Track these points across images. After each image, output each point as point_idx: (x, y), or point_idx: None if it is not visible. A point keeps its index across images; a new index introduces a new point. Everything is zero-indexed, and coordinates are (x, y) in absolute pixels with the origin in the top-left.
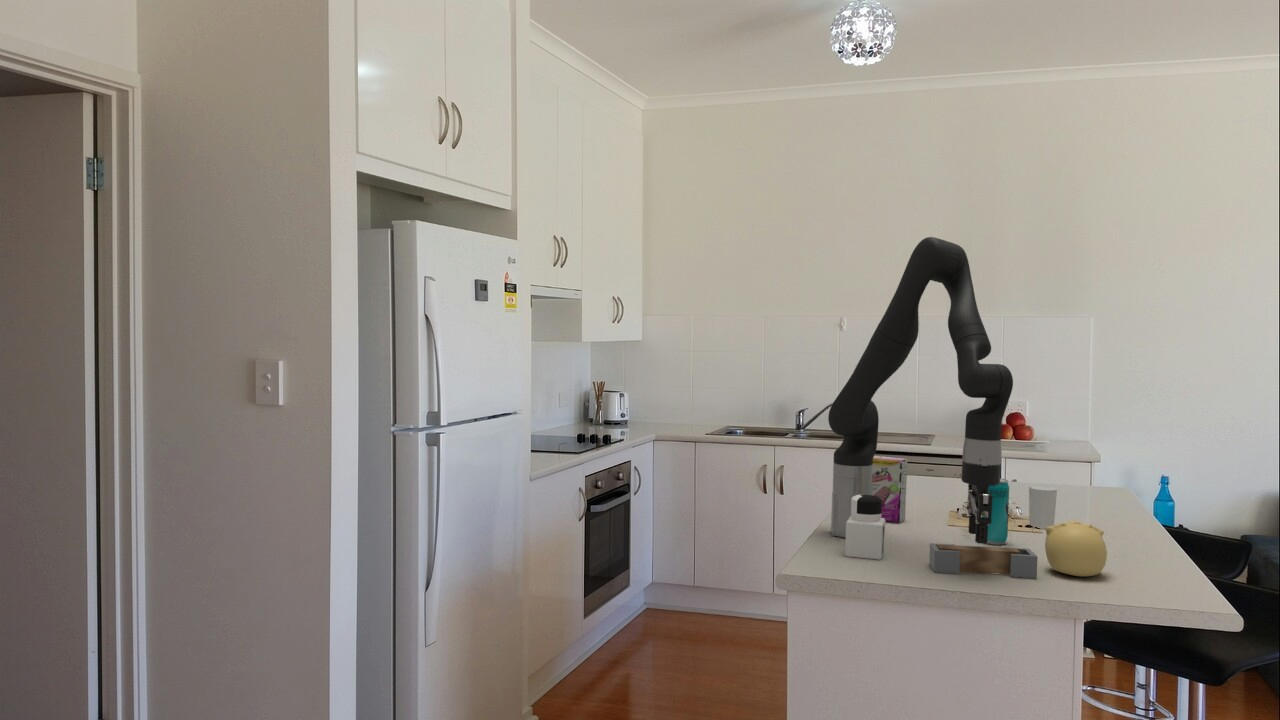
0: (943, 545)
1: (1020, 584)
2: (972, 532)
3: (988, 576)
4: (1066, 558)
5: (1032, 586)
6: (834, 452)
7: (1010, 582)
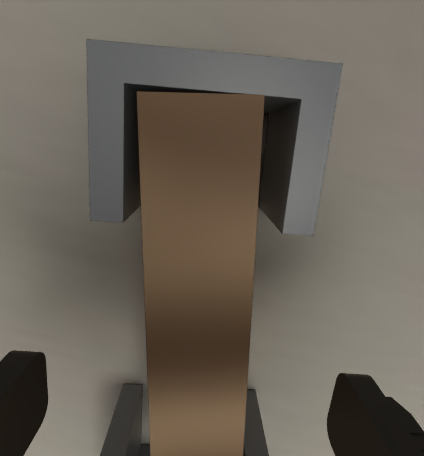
0: (241, 143)
1: None
2: (337, 395)
3: (115, 308)
4: None
5: None
6: None
7: None
